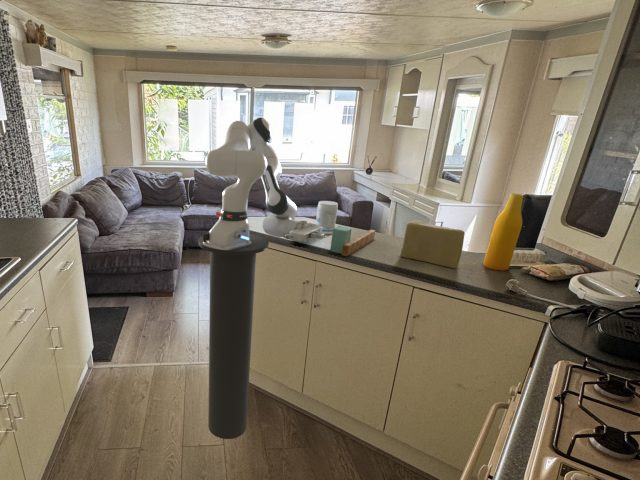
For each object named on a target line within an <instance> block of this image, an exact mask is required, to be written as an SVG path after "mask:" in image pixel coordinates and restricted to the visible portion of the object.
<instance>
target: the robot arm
mask: <svg viewBox="0 0 640 480" xmlns="http://www.w3.org/2000/svg"><path fill="white" fill-rule="evenodd" d="M272 137H273V128H272V127H271V124H270V122H268V121H267V120H266V118H264V117H262V116H261V117H257V118H255V119H253V121H251V122H250V123H249V124H248V125H247V124H246V122H244V121H242V120H235V121H233V122H231V124H229V126H228V128H227V131H226V134H225V142H224V144H223V145H221V146H220V147H218V148H216V149H213V150H210V151H209V152H208V153H207V154H206V157H205V162H204V163H205V168H206V171H207V172H208V173H209V175H212V176H217V177H222V178H237V181H236V182H235V183H233V184H231V185H229V186H226V187H225V188H224V190H223V191H222V195H221V196H222V199H221V209H220V211H216V212H215V216H216V217H218V218H219V219H218V220H217V221H216V222H215V224H214V225H213V226H212V228H211V229H210V230H208V231H206V232H204V233H202V236H203V241H204V242H203V245H205V246H207V247H210V248H214V249H219V250H232V249H236V248H240V247H244V246H248V245H251V244H252V242H251V241H250V233H251V232H250V224H249V222H248V218H249V209H248V203H249V194H250V192H251V188H252V186H253V185H254V183H256V182H257V180H258V179H259V178H261V181H262V185H263V188H264V192H265V207H266V209H267V210H268V212H270V214H269V215H266V216H265V217H264V218H263V220H262V229H263V231H264V233H265V234H267V235H269V236H272V237H276V238H284V239H286V240H288V241H289V240H290V241H294V242H298V243H305V242H307V241H309V240H311V239H319V240H321V239H323V238H325V234H324V233H322V226H320V225H316V223H311V222H308V221H307V220H295V218H296V216H297V214H298V206H297V205H296V204H295V202H294V201H292V199H290V198H289V197H288V196H287V195H286V193H285V192H284V191H283V190H281V189H280V186H279V183H278V180H279V178H281V175H282V173H283V169H282V165H281V162H280V160H279V156H278V154H277V153H276V151H275V150H274V148H273V147H272V146H271V145H270V144H271V143H272ZM206 240H207V241H206Z"/></svg>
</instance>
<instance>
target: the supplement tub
mask: <svg viewBox="0 0 640 480" xmlns="http://www.w3.org/2000/svg"><path fill="white" fill-rule="evenodd" d="M338 206H339V203H338V202H336V201H331V200H320V201H318V204H317V208H316V217H315V218H316V219H315V224H316V225H320V226H322V233H324V235H332V233H333V228H335V227H336V222H337V216H338V215H337V214H338V208H339V207H338Z"/></svg>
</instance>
